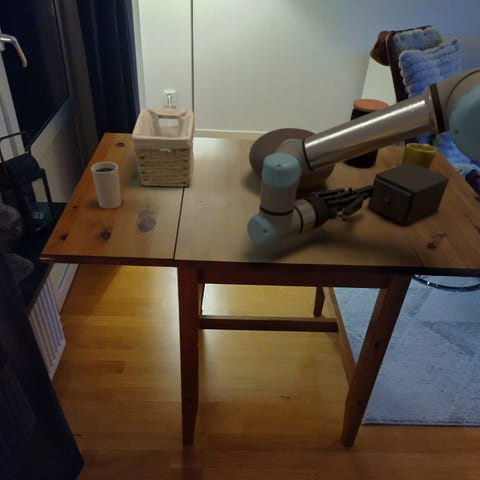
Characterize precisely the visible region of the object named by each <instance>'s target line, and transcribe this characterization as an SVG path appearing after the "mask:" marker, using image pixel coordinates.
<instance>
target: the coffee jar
mask: <svg viewBox="0 0 480 480" xmlns="http://www.w3.org/2000/svg"><path fill="white" fill-rule="evenodd" d="M352 106H353V108H352V111H351V113H350V119H349V121H351V120H354V119H357V118H359V117H362V116H365V115H367V114H370V113H373V112H375V111H378V110H380V109H383V108H386V107H388V106H390V105H389V104H388V103H387V102H385V101H382V100H380V99H373V98H359V99H356V100H354V101H353V105H352ZM379 150H380V149H378V150H375V151H372V152H369V153H366V154H363V155H360V156H357V157H354V158H351V159H348V160H345V161H344V162H345V163H346V164H347V165H349V166H350V167H353V168H362V169H363V168H364V169H365V168H366V169H367V168H370V167H373V165H375V163H376V162H377V160H378V159H377V158H378V155H379Z"/></svg>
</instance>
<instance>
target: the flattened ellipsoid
mask: <svg viewBox="0 0 480 480" xmlns="http://www.w3.org/2000/svg"><path fill="white" fill-rule="evenodd" d="M315 134H316V133H315V132H313V131H310V130H308V129H302V128H298V127H297V128H296V127H294V128H293V127H283V128H278V129H273V130H270V131H268V132H266V133H264V134H263V135H261V136H259V137H258V138H257V139H256V140H255V141H254V143H253V144H252V145H251V147H250V150H249V154H248V161H249V165H250V167H251V169H252V171H253V173H254V174H255V175H256V176H257V177H258V178H259V179H260V180H262V171H263V165H264V160H265V158H266V157H267V156H268V155H271V154H273V153H275V152H276V150H277V148H278V147H279V146H280V145H281V144H282V143H283V142H284V141H286V140H289V139H297V140H301V139H304V138H307V137H309V136H312V135H315ZM336 164H337V163H336ZM336 164H333V165H330V166H327V167H324V168H321V169H318V170H315V171H313V172H310V173H307V174H304V175H301V178H300V181H299V183H298V186H297V190H305V189H310V188H312V187H316V186H318V185H320V184H322V183H323V182H324V181H326V180H327V179H328V178H330V177H331V175H332V174H333V172H334V171H335V168H336Z"/></svg>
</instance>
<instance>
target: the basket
mask: <svg viewBox="0 0 480 480" xmlns="http://www.w3.org/2000/svg"><path fill="white" fill-rule="evenodd" d="M160 119H162V120H177V121H178V125H161V124H160ZM194 128H195V113H194V111H193V110H191V109H177V108H142V109H141V111H140V113H139V114H138V117H137V119H136V122H135V126H134V128H133V131H132V134H131V139H132V148H133V151H134V155H135V160H136V164H137V170H138V173H139V176H140V177H139V178H140V183H141V185H143V186H145V187H149V186H151V187H152V186H153V187H159V186H160V187H180V188H181V187H189V186H190V185H191V182H192V178H193V173H194V171H193V170H194Z"/></svg>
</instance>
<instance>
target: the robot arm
mask: <svg viewBox="0 0 480 480" xmlns="http://www.w3.org/2000/svg"><path fill="white" fill-rule="evenodd" d="M446 132H447V133H448V132H449V136H450V138H451V140H452V144H453V145H455V147H456V149H457V150H458V152H459V153H461V154H462V156H464V157H466V158H467V159H469V160H471V161H475V162H478V163H480V66H477V67H473V68H470V69H467V70H464V71H461V72H459V73H456V74H453V75H451V76H449V77H446V78H444V79H442V80H439V81H437V82H434V83H431V84H429V85H427V86H426V87H425V89H424V91H423V92H422V93H419V94H418V95H416V96H412V97H409V98H407V99H404V100H401V101H399V102H397V103H394V104H391V105H389V106H388V107H386V108H383V109H380V110H378V111H375V112H373V113H370V114H367V115H365V116H362V117H359V118H357V119H354V120H351V121H350V120H349V121H346V122H344V123H341V124H339V125H335V126H333V127H331V128H328V129H325V130H323V131H320V132H317V133H315V135H312V136H309V137H307V138H304V139H301V140H297V139H289V140H286V141H284V142H283V143H282V144H281V145H280V146H279V147H278V148H277V150H276V152H275V153H273V154H271V155H268V156H267V157H266V158H265V160H264V165H263V171H262V179H261V186H260V187H261V189H260V203H259V209H258V213H255V214H254V215H253V216H251V217H250V218H249V219H248V221H247V225H246V229H247V234H248V237H249V239H250V240H251V242H252V243H253V244H254V245H255V246H257V247H258V248H262V249H264V248H269V247H271V246H275V245H278V244H279V243H282V242H284V241H286V240H289V239H291V238H293V237H296V236H299V235H301V234H304V233H306V232H310V231H312V230H315V229H317V228H319V227H322V226H324V225H325V224H326V223H327V222H328V221H329V220H335V219H337V218H339V219H341V221H342V222H343V223H347V222H348V219H349V218H350V217H352V216H353V215H354V214H355V213H357V212H359V210H361V209H362V208H363V205H364V201H366V200H368V199H370V197H372V196H373V192H374V188H375V187H374V186H373V184H369V185H368V184H367V185H366V186H362V187H359V188H355V189H354V188H353V187H349V186H348V189H347V190H346V188H344V187H340V188H334V189H329V190H323V191H310V192H309V196H307V197H304V198H301V199H297V200H296V196H297V190H298V189H297V186H298V183H299V181H300V178H301V175H304V174H307V173H310V172H313V171H315V170H318V169H321V168H324V167H327V166H330V165H333V164H339V163H342V162H345V160H348V159H351V158H354V157H357V156H360V155H363V154H366V153H369V152H372V151H375V150H378V149H379V150H381V149H383V148H387V147H389V146H392V145H395V144H398V143H401V142H404V141H407V140H410V139H413V138H416V137H419V136H423V135H425V134H428V133H432V134H435V135H436V136H437V135H441V134H443V133H446Z"/></svg>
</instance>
